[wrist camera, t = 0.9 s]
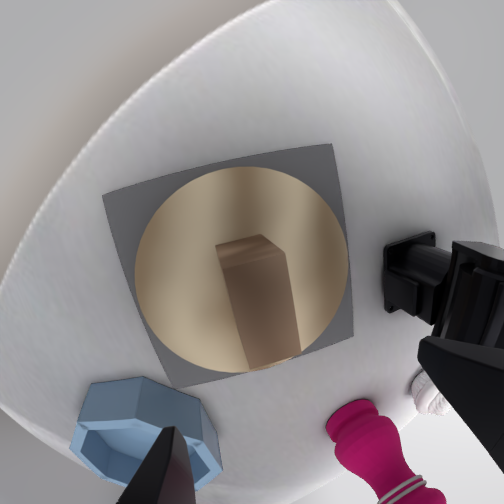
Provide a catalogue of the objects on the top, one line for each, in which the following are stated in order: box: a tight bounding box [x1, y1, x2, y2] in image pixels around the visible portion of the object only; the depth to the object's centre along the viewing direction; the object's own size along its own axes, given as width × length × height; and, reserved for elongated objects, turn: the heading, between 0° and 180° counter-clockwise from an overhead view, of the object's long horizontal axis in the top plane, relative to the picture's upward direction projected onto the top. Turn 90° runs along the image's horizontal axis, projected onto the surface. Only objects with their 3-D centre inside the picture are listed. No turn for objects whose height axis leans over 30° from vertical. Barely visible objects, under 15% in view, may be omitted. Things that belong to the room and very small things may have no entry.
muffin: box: [411, 370, 452, 416], centre depth 25 cm, size 6×6×7 cm
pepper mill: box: [326, 399, 446, 504], centre depth 17 cm, size 7×7×20 cm
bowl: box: [69, 376, 223, 491], centre depth 19 cm, size 13×13×5 cm
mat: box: [102, 144, 354, 389], centre depth 19 cm, size 16×16×1 cm
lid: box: [135, 167, 348, 373], centre depth 16 cm, size 15×15×6 cm
